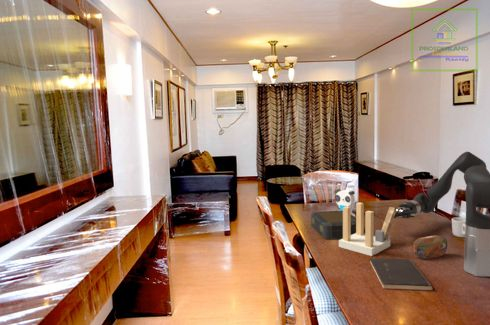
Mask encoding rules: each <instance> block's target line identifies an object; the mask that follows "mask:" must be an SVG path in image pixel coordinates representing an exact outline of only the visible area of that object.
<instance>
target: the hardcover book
mask: <svg viewBox="0 0 490 325" xmlns="http://www.w3.org/2000/svg"><path fill="white" fill-rule="evenodd" d="M368 259H369V261H370V264H371V267H372V269H373V270H374V272H375V274H376V276H377V279H378V280H379V283H380V284H381V287H382V288H383V289H389V290H390V289H391V290H394V289H395V290H416V291H417V290H419V291H434V286H433V285H432V283H431V282H430V281H429V280H428V278H427V277H426V276H425V275H424V274H423V272H422V271H421V269H419V267H418V266H417V265H416V264H415V262H414V261H413V260H412V259H411V258H394V257H393V258H390V257H389V258H387V257H369V258H368Z"/></svg>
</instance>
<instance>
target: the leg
mask: <svg viewBox="0 0 490 325" xmlns="http://www.w3.org/2000/svg"><path fill="white" fill-rule="evenodd" d="M395 208H396V207H392V206H389V207H388V210H387V213H386V216H385V219H384V221H383V224H382V228H381V229H380V230H381V231H384V239H385V240H386V239H387V236H388V234H390V233H389V232H390V230H391V227H392V224H393V222H394V219H395V218H394V216H395V213H396V209H395Z"/></svg>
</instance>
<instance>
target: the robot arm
mask: <svg viewBox="0 0 490 325" xmlns="http://www.w3.org/2000/svg"><path fill="white" fill-rule="evenodd" d="M457 171H459V172H461V173H463V180H464V183H465V185H466V186H465V218H466V223H465V237H464V250H463V251H464V254H463V270H464V271H465V272H466V273H468V274H471V275H473V276H474V277H490V215H487V214H484V213H482V212H480V211H479V210H477V208H485V209H490V172H489V170H488V169H487V165H486V162H485V161H484V160H482V159H481V158H480V157H478V156H477V155H475V154H473V153H472V152H470V151H464V152H463V153H461V154H460V155H459V156H458V157H457V158H456V159H455V160H454V161H453V163H452V164H451V165H449V167H448V168H447V169H446V171H445V172H444V173H443V174H442V175H441V177H440V178H439V179H438V180H437V181H436V182H435V183H434V184H433V185H432V186H431V187H429V188H428V190H426V191H427V192H426V194H425V193H424V192H420V193H417V194H416V195H415V196H414V197H413V199H412V200H407V201H405V202H402V203H401V204H399V205H398V207H394V208H395V209H396V213H395V216H394V219H396V218H403V219H410V218H415V216H416V215H418V214H420V213H424V214H430V213H431V212H432V211H434V209H435V208H436V206H437V205H438V203H439V201H440V200H441V199H442V198H443V197H445V196H446V195H447V194H448V193H449V192H450V191H451V188H452V185H453V184H452V183H453V178H454V175H455V173H456V172H457Z"/></svg>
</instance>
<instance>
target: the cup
mask: <svg viewBox="0 0 490 325" xmlns="http://www.w3.org/2000/svg"><path fill="white" fill-rule="evenodd" d="M465 223H466V217H458V216H457V217H452V218H451V229H452V231H451V232H452V234H453V236H455V237H457V238H465Z"/></svg>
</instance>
